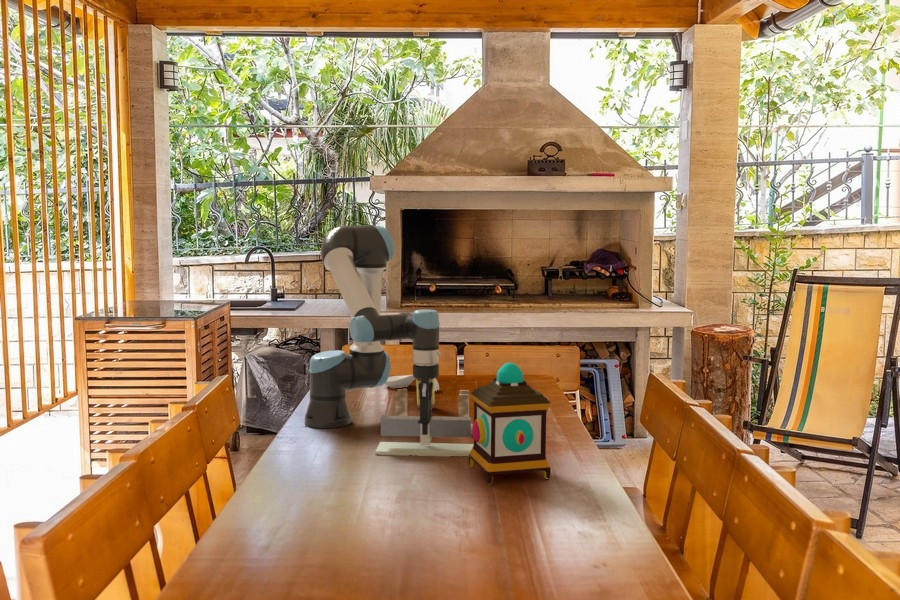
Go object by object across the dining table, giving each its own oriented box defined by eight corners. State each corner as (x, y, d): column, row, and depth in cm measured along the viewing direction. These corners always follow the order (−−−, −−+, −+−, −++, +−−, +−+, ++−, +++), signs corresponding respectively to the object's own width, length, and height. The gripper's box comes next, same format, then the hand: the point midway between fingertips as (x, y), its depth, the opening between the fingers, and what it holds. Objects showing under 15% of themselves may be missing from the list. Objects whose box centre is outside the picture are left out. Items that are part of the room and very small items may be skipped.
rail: (380, 435, 245) (380, 418, 245) (382, 432, 249) (382, 415, 249) (470, 437, 244) (470, 420, 243) (471, 433, 248) (471, 417, 247)
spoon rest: (377, 388, 335) (377, 370, 334) (392, 383, 345) (392, 366, 345) (430, 394, 324) (430, 376, 324) (444, 389, 335) (444, 371, 334)
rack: (390, 431, 268) (390, 393, 267) (393, 426, 275) (393, 388, 274) (472, 433, 267) (473, 395, 265) (473, 428, 274) (473, 390, 273)
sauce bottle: (435, 406, 304) (435, 351, 302) (433, 410, 298) (433, 354, 296) (417, 405, 305) (417, 351, 302) (415, 409, 298) (415, 354, 296)
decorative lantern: (484, 487, 215) (485, 370, 212) (462, 465, 234) (463, 357, 231) (557, 481, 220) (560, 367, 217) (530, 460, 239) (532, 354, 236)
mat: (375, 454, 243) (375, 451, 243) (380, 445, 253) (380, 441, 253) (473, 457, 241) (473, 453, 241) (474, 447, 251) (474, 444, 251)
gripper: (436, 368, 236) (436, 451, 238) (441, 358, 253) (440, 435, 255) (409, 368, 236) (409, 450, 239) (416, 358, 253) (416, 435, 256)
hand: (425, 442), depth 247 cm, fingers closed on rail, 4 cm apart
